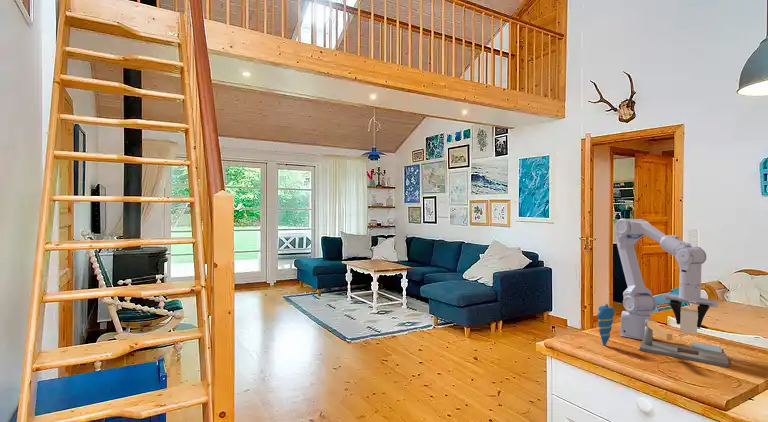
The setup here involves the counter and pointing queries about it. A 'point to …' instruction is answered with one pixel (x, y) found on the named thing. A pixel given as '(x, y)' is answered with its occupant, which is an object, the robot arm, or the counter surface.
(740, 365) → the counter surface
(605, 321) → the ornament
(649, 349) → the socket block
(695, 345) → the rest pad
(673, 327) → the counter surface
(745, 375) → the counter surface
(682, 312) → the plug
